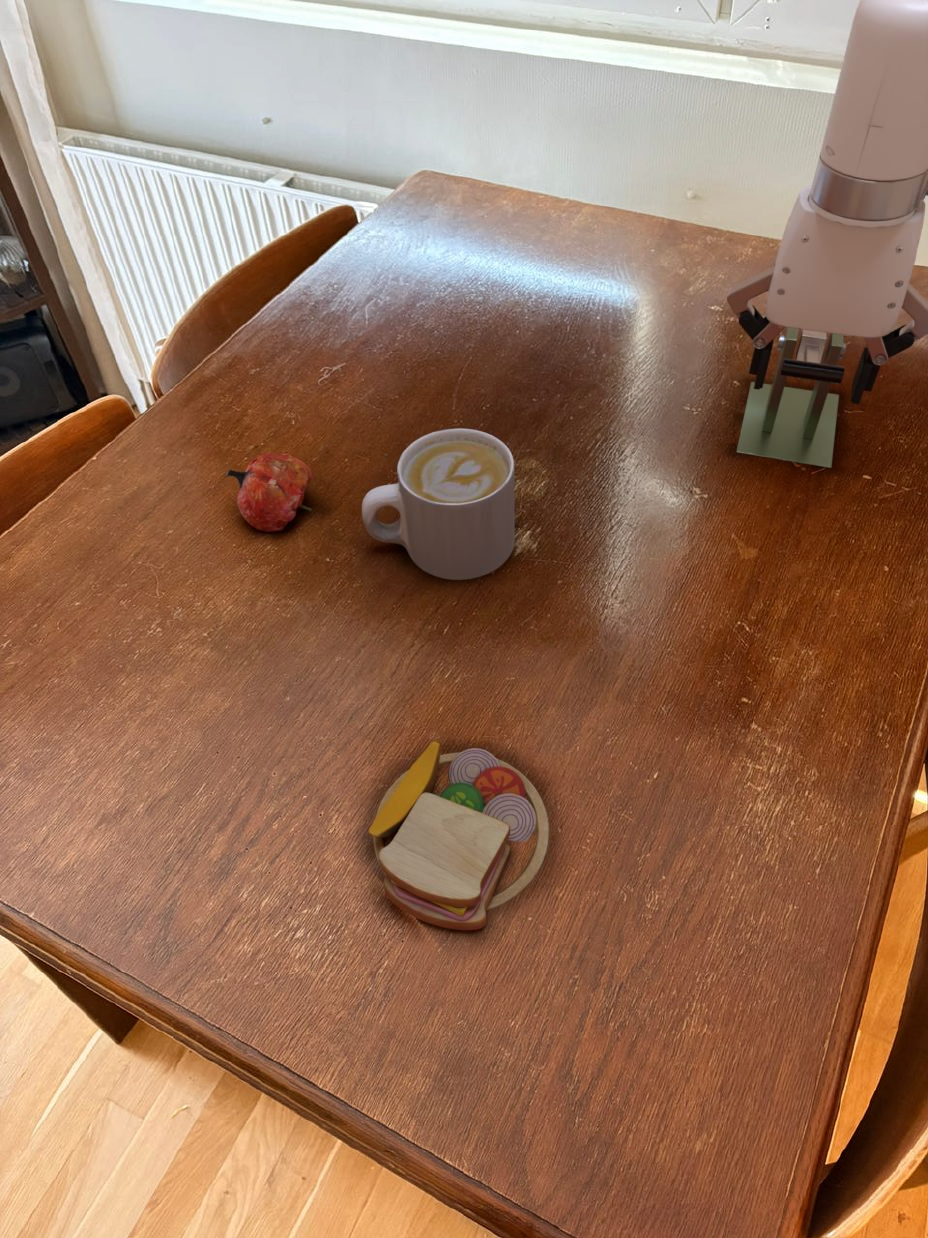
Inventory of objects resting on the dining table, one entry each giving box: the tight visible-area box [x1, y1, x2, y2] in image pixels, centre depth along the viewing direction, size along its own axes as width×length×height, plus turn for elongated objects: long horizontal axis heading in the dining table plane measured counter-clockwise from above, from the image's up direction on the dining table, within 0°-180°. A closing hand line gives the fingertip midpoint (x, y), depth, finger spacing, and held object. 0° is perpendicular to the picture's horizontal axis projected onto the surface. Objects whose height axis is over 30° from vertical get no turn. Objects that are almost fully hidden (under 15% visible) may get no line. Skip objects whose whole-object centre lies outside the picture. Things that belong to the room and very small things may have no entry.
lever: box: [780, 329, 845, 385], centre depth 81 cm, size 11×5×2 cm, turn 162°
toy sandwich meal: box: [368, 740, 550, 931], centre depth 63 cm, size 12×14×5 cm
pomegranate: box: [224, 453, 313, 533], centre depth 84 cm, size 7×7×10 cm
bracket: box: [735, 327, 848, 469], centre depth 87 cm, size 12×9×12 cm
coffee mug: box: [361, 427, 516, 581], centre depth 80 cm, size 13×10×10 cm
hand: (807, 386), depth 79 cm, fingers open, 7 cm apart
